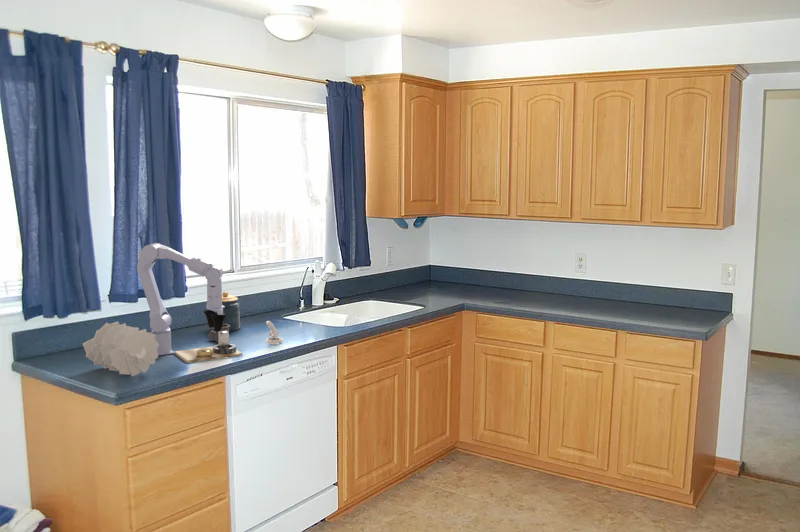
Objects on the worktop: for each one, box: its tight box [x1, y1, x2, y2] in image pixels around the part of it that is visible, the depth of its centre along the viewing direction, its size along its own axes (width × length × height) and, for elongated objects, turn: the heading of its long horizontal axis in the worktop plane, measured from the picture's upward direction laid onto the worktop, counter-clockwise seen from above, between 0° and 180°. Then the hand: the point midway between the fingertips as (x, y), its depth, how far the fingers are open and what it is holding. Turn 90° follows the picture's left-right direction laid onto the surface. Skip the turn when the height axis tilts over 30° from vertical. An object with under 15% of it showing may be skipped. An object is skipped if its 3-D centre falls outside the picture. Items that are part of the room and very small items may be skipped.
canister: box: [211, 291, 241, 332], centre depth 322 cm, size 13×13×18 cm
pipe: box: [207, 324, 230, 344], centre depth 297 cm, size 6×13×8 cm, turn 50°
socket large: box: [212, 343, 237, 354], centre depth 279 cm, size 9×9×2 cm
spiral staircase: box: [82, 321, 159, 377], centre depth 252 cm, size 18×18×25 cm
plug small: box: [196, 349, 212, 358], centre depth 272 cm, size 6×6×2 cm
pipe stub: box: [218, 331, 230, 348], centre depth 279 cm, size 4×4×8 cm
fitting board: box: [174, 346, 243, 364], centre depth 278 cm, size 22×16×1 cm
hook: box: [265, 320, 284, 345], centre depth 298 cm, size 8×12×7 cm
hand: (214, 329), depth 279 cm, fingers open, 7 cm apart
